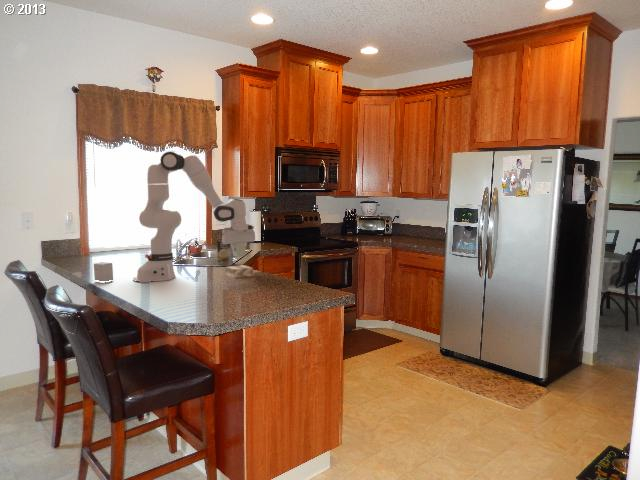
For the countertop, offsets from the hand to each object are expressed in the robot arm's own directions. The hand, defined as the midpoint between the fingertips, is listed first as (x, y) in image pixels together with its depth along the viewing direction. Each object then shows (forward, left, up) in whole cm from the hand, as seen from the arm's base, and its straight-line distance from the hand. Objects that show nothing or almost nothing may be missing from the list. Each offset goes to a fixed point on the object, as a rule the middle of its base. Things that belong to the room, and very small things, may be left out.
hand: (239, 250), depth 273 cm
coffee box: (+12, +40, -15) cm, 44 cm away
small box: (-67, +28, -15) cm, 74 cm away
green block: (0, 0, -3) cm, 3 cm away
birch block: (0, 0, -15) cm, 15 cm away
